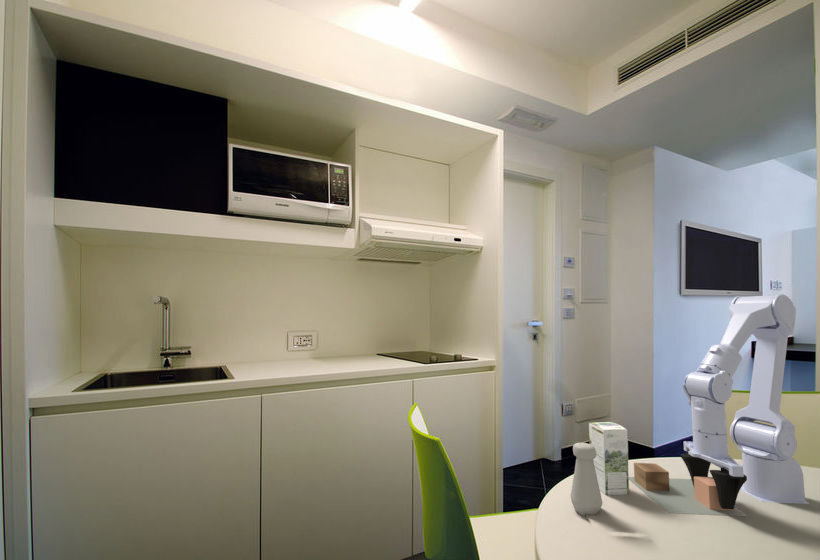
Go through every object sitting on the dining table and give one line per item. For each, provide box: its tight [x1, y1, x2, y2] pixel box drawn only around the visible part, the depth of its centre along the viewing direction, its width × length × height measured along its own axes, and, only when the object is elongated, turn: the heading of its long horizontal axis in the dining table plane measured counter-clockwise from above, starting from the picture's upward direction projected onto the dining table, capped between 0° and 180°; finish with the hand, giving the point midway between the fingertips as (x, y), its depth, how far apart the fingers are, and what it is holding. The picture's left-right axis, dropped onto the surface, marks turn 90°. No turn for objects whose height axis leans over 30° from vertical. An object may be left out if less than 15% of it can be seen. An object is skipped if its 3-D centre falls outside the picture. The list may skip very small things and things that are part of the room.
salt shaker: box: [570, 442, 603, 517], centre depth 78 cm, size 6×6×13 cm
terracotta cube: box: [694, 476, 734, 510], centre depth 80 cm, size 4×4×4 cm
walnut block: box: [633, 462, 670, 491], centre depth 88 cm, size 5×5×4 cm
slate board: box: [629, 476, 749, 517], centre depth 84 cm, size 15×17×1 cm
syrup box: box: [588, 421, 630, 496], centre depth 87 cm, size 6×6×14 cm
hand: (713, 499), depth 80 cm, fingers open, 7 cm apart
